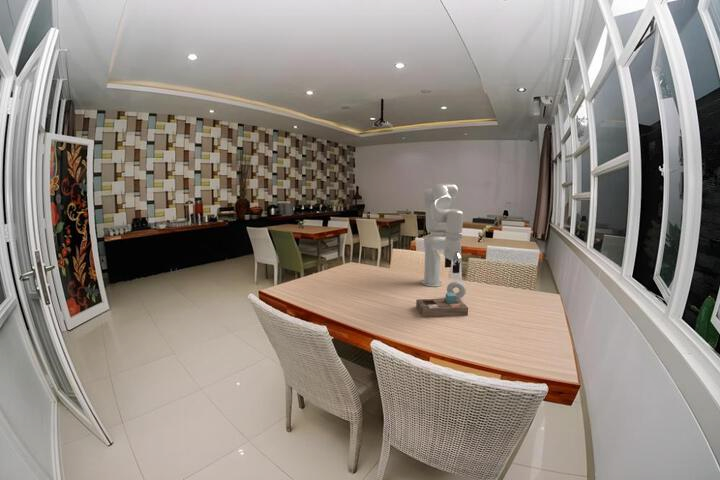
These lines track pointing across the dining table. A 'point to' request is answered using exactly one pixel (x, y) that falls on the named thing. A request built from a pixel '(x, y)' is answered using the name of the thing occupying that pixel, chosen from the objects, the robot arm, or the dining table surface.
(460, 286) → the donut
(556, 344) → the dining table surface
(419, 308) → the socket block
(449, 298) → the plug
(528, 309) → the dining table surface
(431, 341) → the dining table surface
